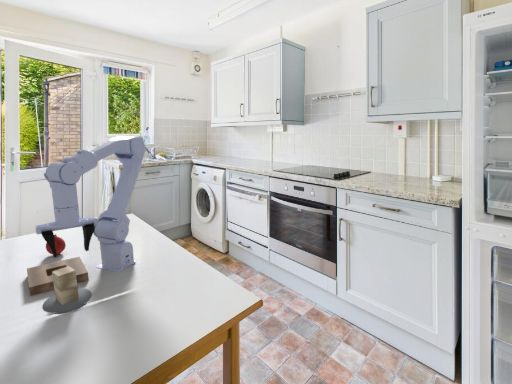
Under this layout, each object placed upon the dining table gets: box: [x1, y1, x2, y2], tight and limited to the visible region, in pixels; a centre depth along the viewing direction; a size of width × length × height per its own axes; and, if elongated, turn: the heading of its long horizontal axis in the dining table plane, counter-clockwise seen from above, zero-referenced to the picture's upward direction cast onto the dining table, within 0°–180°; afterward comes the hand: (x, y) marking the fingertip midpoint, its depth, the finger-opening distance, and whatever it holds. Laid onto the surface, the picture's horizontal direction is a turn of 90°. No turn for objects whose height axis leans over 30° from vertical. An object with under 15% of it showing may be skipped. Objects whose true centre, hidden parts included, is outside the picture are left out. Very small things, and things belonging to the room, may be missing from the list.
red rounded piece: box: [45, 234, 66, 256], centre depth 106 cm, size 6×6×8 cm
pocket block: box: [26, 256, 90, 297], centre depth 89 cm, size 14×14×3 cm
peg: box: [52, 266, 79, 305], centre depth 78 cm, size 4×4×8 cm
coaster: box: [42, 287, 93, 315], centre depth 78 cm, size 11×11×1 cm
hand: (71, 253), depth 84 cm, fingers open, 7 cm apart
